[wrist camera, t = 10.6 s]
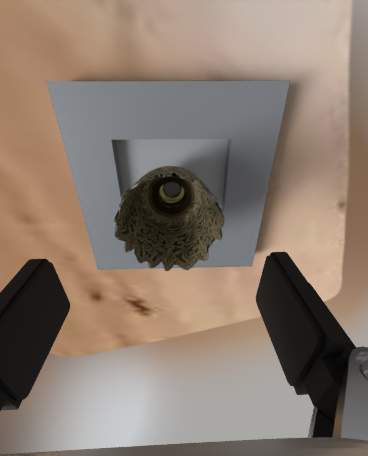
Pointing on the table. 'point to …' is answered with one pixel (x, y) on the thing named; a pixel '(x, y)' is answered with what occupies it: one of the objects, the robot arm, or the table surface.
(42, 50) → the table surface
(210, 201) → the cup
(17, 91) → the table surface
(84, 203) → the display stand
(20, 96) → the table surface
